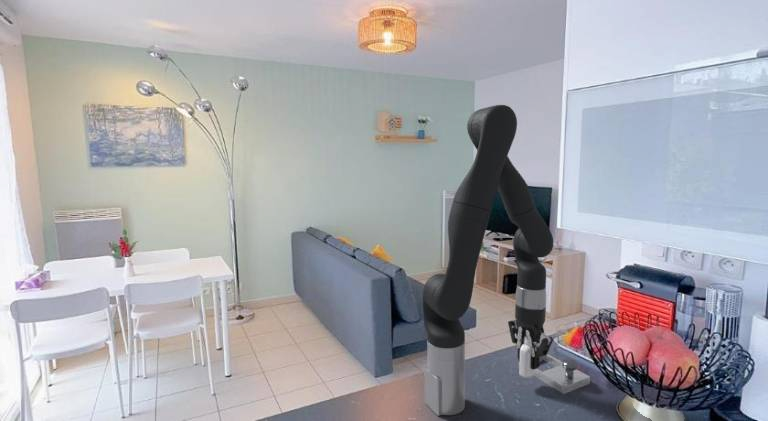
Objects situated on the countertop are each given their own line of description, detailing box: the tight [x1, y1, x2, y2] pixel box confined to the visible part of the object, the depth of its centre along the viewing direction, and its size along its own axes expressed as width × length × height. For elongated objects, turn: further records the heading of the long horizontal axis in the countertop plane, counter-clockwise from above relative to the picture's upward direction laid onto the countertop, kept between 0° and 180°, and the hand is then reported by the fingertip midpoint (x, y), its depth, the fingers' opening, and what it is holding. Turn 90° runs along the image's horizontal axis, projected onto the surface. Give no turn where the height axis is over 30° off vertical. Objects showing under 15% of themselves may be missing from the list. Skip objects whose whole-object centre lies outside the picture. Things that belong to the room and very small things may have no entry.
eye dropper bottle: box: [518, 336, 536, 379], centre depth 108 cm, size 4×6×12 cm
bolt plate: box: [517, 353, 591, 395], centre depth 114 cm, size 10×16×6 cm, turn 26°
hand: (528, 364), depth 108 cm, fingers closed on eye dropper bottle, 3 cm apart
